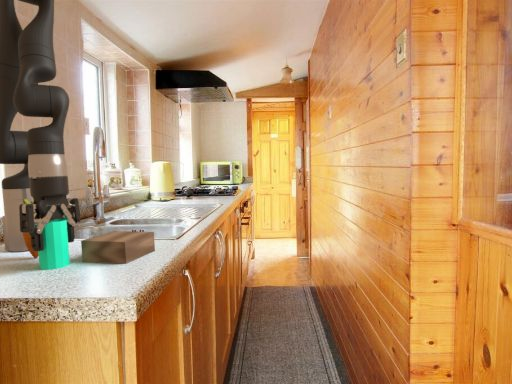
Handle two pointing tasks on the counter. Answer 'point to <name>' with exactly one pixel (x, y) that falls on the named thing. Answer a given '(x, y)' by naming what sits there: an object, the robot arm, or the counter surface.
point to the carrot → (29, 237)
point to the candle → (54, 245)
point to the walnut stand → (117, 247)
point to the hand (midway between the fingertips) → (54, 246)
